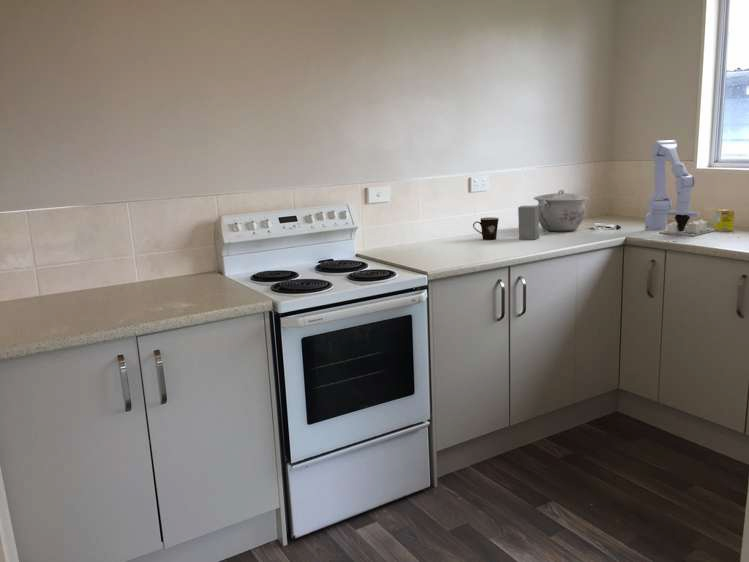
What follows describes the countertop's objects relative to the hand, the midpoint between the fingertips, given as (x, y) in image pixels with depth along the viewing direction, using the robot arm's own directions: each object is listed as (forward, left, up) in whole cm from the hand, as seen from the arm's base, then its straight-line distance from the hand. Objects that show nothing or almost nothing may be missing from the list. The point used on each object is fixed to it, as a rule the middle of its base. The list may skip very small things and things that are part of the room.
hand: (681, 231), depth 307 cm
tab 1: (-4, 0, -1) cm, 4 cm away
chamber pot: (-57, -13, -3) cm, 59 cm away
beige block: (+2, +7, -1) cm, 7 cm away
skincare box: (-51, -47, -3) cm, 70 cm away
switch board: (0, +7, -3) cm, 8 cm away
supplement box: (+9, +24, -3) cm, 26 cm away
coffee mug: (-66, -60, -3) cm, 89 cm away
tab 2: (+2, +14, -1) cm, 14 cm away
